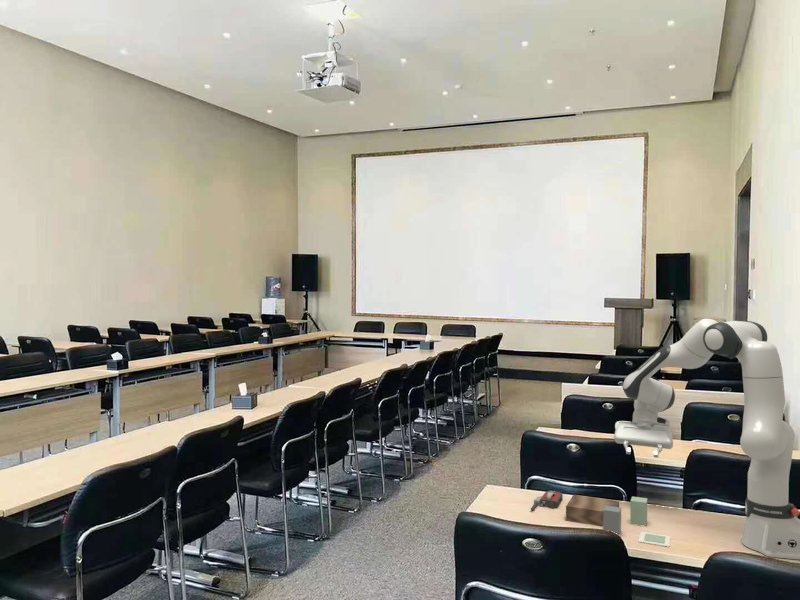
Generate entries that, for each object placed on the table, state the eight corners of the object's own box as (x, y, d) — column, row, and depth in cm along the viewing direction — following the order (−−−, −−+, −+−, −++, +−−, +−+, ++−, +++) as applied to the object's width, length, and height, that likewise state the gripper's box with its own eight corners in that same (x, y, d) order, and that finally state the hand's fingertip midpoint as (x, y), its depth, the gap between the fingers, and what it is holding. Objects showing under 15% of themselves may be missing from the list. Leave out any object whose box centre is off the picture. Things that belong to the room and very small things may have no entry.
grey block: (621, 531, 208) (621, 507, 208) (619, 537, 204) (619, 512, 204) (605, 529, 211) (605, 505, 210) (603, 534, 206) (603, 509, 206)
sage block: (647, 521, 218) (647, 498, 218) (646, 526, 213) (646, 502, 213) (631, 519, 220) (632, 496, 220) (630, 523, 216) (630, 500, 216)
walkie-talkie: (541, 496, 246) (528, 512, 228) (541, 485, 246) (528, 500, 228) (563, 499, 242) (553, 516, 224) (563, 488, 242) (553, 503, 224)
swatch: (670, 537, 204) (670, 535, 204) (669, 547, 196) (669, 545, 195) (641, 532, 208) (641, 531, 208) (638, 542, 199) (638, 540, 199)
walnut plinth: (619, 514, 224) (619, 500, 224) (614, 527, 212) (614, 513, 212) (573, 508, 231) (573, 494, 231) (565, 520, 219) (565, 506, 219)
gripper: (615, 415, 239) (611, 446, 230) (673, 420, 230) (672, 453, 221) (616, 424, 243) (612, 456, 234) (674, 430, 234) (672, 463, 226)
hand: (642, 455), depth 228 cm, fingers open, 8 cm apart
